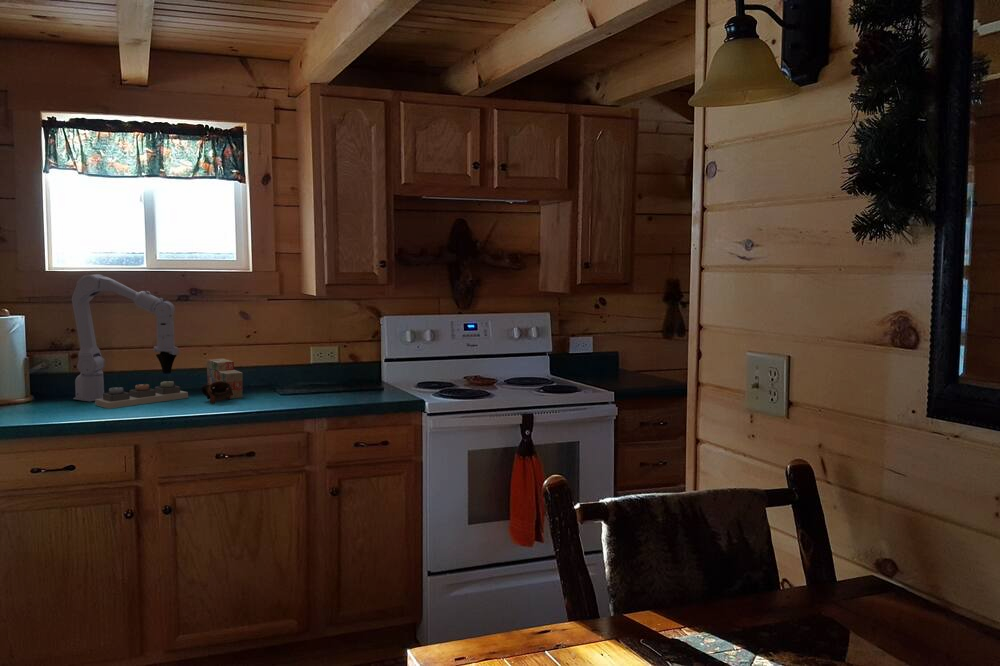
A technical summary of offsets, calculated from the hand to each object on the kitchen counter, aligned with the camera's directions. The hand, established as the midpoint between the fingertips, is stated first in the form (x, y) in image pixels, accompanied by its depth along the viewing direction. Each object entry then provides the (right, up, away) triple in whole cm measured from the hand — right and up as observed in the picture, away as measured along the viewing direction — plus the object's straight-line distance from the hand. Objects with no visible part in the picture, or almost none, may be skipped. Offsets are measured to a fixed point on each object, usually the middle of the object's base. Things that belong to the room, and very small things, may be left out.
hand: (166, 373), depth 284 cm
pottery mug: (+20, -10, -6) cm, 23 cm away
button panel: (-6, -10, -6) cm, 13 cm away
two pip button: (-12, -6, -13) cm, 19 cm away
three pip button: (-6, -5, -6) cm, 10 cm away
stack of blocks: (+17, -9, +9) cm, 22 cm away
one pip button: (0, -5, 0) cm, 5 cm away
